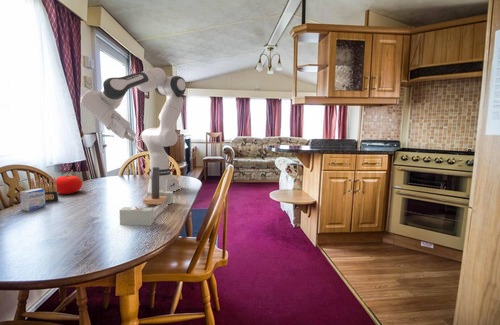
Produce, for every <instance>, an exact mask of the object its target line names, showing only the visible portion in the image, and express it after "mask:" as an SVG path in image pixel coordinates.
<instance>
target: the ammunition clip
mask: <svg viewBox="0 0 500 325" xmlns="http://www.w3.org/2000/svg"><path fill="white" fill-rule="evenodd" d="M56 179H57V178H55V177H54V178H53V180H52V179H51V178H50V177H49V181H48V180H47V178H45V179H44V181H43V179H42V178H40V181H39V179H38V178H36V180H34V179H33V178H32V179H31V180H30V181H31V182H30V190H32V189H37V188H41V189H44V190H45V203H52V202H53V203H54V202H59V193H58V192H57V184H56Z"/></svg>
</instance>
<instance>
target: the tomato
mask: <svg viewBox="0 0 500 325" xmlns="http://www.w3.org/2000/svg"><path fill="white" fill-rule="evenodd" d="M55 179H56V184H57V193H58V194H60V195H61V194H62V195H68V194H73V193H77V192H79V191H80V190H81V189H82V186H83V181H82V179H81V178H80V177H79V176H76V175H68V174H67V175H63V176H62V175H61V176H58V177H57V178H55Z"/></svg>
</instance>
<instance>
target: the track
mask: <svg viewBox="0 0 500 325" xmlns="http://www.w3.org/2000/svg"><path fill="white" fill-rule="evenodd" d="M146 194H147V197H148V196H152V191H149V192H147V193H146ZM159 196H167V201H166V202H165V203H163V204H143V206H132V207H130V206H129V207H127V206H124V207H122V208H121V209H119V225H121V226H151V225H152V224H154V222H155V219H157V217H158V216H159V215H160V214H161V213H162V212H164V210H165V209H166V208H167V207H168V206H169V205H168V204H171V203H172V202H173V203H174V192H171V191H159ZM147 197H146V198H147ZM173 203H172V204H173ZM172 204H171V205H172ZM166 206H167V207H166ZM165 207H166V208H165ZM164 208H165V209H164Z"/></svg>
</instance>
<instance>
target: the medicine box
mask: <svg viewBox="0 0 500 325" xmlns="http://www.w3.org/2000/svg"><path fill="white" fill-rule="evenodd" d="M19 194H20V195H19V196H20V210H21V211H25V212H26V211H27V212H31V211H34V209H35V210H38V209H42V208H44V207H46V202H45V190H44V189H41V188H37V189H32V190H31V189H28V190H27V189H26V190H24V191H23V190H22V191H19ZM41 207H42V208H41ZM37 208H38V209H37Z"/></svg>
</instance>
